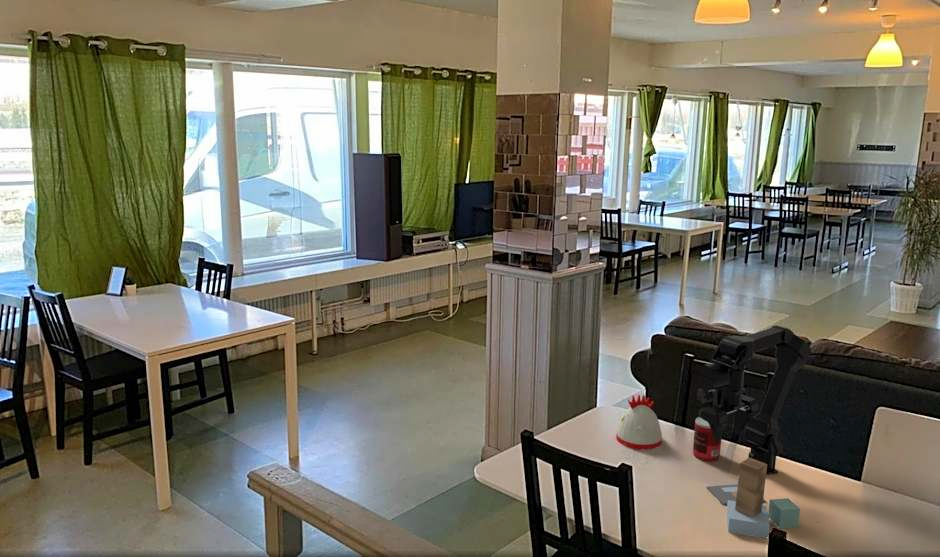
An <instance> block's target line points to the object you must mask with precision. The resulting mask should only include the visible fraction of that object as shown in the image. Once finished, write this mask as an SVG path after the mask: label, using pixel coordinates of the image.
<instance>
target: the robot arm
mask: <svg viewBox="0 0 940 557" xmlns="http://www.w3.org/2000/svg"><path fill="white" fill-rule="evenodd" d="M770 347H771V348H772V347H775V349H776V350H775V354H774V356H775V360H776V368H775V371H774V373H773V376H772V379H771V381H770V384H769V387H768V389H767V391H766V393H765V398H764V400H763V402H762V405H761V407H760V410H759V402H758V400H757V398H754V397H752V396H748V395H745V394H744V393H747V392H746V390H747V388H745V387H744V379H745V378H744V377H745V368H749V367H751V364H750V363H749V362H748V361H749V360H751V359H752V358H754V355H755V353H757V352H760V351H763V350H766V349H768V348H770ZM811 355H812V349H811V347H810V344H809V343H808V342H807V341H805V340H804V339H802V338H801V337H799V336H798V335H797V334H795V333H794V332H793V330H791V329H790V328H788V327H785V326H780V325H772V326H771V327H769V328H767V329H764V330H760V331H758V332H755V333H752V334H751V333H750V334H748V335H744V336H743V335H726V336H725V337H723V338H722V339H721V341H720V342H719V343H718V345H717V346H716V349H715V351H714V352H713V354H712V356H711V357H710V360H709V361H710V363H706V364H704V368H702V369H701V370H700V371H698V374H696V375H697V378H696V379H697V380H696V381H697V384H698V385H699V387H700V388H698V390H697V392H696V393H697V394H696V398H697V400H698V401H699V402H701V403H702V404H705V403H712V402H713V403H712V404H713V405H707V406H705V407H702V408H701V409H699V413H698V415H699V416H698V417H700V418H702V419H703V420H705V421H707V422H708V423H709V426H710V428H711V431H712V435H713V439H714V442H716V443H719V441H720V439H721V440H722V437H723V433H724V431H725V429H726V427H727V424H728V422H727V419H728V415H729V414H731V413H733V416H734V418H733V419H734V420H733V428H734V429H733V431H734V435H737V436H739V435H740V434H741V432H742V430H743V429H744V431H743V435H744V439H745V444H746V445H747V446H749V447H750V450H749V452H748V458H752V459H755V460H757V461H760V462H763V463H765V464H767V471H766V475H768V474H770V475H771V474H778V473H779V471H778V470H777V469H776V461H777V457H779V456H780V454H782V453H783V450H784V444H783V443H782V442H781V441H780V439H779V438H778V437H779V434H780V427H779V422H778V419H779V416H780V413H781V411H782V408H783V405H784V403H785V400H786V398H787V396H788V393H789V390H790V387H791V384H792V382H793V379H794V376H795V374H796V373H797V372H798V371H799V370H801V369H802V368H803V367H804V366H805V365H806V364H807V362H808V360H809V358H810V357H811ZM717 406H718V407H717ZM757 410H759V412H758V413H757V414H756V415H754V414H755V413H756V411H757ZM753 415H754V416H753ZM721 436H722V437H721ZM746 445H745V446H746ZM748 458H747V459H748Z"/></svg>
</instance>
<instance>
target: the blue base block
mask: <svg viewBox="0 0 940 557" xmlns="http://www.w3.org/2000/svg"><path fill="white" fill-rule="evenodd" d="M735 506H736V501H730V500H728V503H727V506H726V522H727V532H728V533H731V534H732V533H733V534H739V535H744V536H752V537H756V538H763V539H768V538H769V536H768V534H769V535H770V528H771V527H770V526H771V525H770V524H771V523H770V519H769V518H768V509H767V505H763V504H762V512H760V513H759V514H757V515H755V516H754V517H750V516H748V515H746V514H743V513H741V512H739V511H737V510H735ZM767 537H768V538H767Z"/></svg>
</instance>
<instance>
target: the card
mask: <svg viewBox="0 0 940 557" xmlns="http://www.w3.org/2000/svg"><path fill="white" fill-rule="evenodd" d="M737 488H738V484H725V485H724V484H722V485H711V486H710V485H709V486H706V489H707V490H708V492H710V494H712V496H713V497H714V498H715V497H716V498H717V499H718V500H719V501H720V502H719V501H718V500H717V499H716V498H715V499H716V500H717V501H718V502H719V503H720V504H721V505H722V506H725V505H727V503H728V500H730V501H736V497H737ZM766 501H767V500H766V499H765V498H763V503H766Z"/></svg>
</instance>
